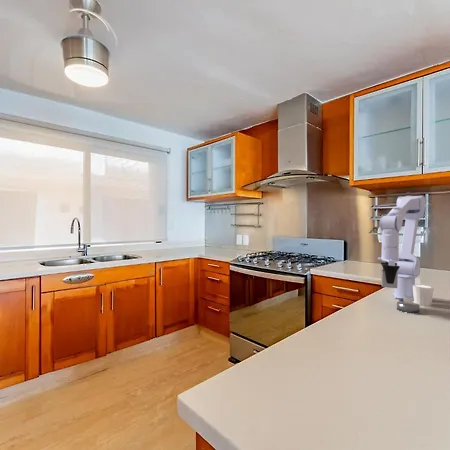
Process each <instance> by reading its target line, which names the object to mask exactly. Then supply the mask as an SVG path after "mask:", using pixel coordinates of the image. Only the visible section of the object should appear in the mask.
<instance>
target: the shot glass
mask: <svg viewBox="0 0 450 450" xmlns="http://www.w3.org/2000/svg"><path fill="white" fill-rule="evenodd" d="M433 294H434V287H433V286H432V285H431V286H430V285H427V284H415V285H413V295H414V300H413V303H416V304H419V305H420V306H422V305H423V306H424V307H430V306H432V302H433V297H434V295H433Z"/></svg>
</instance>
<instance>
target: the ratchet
mask: <svg viewBox="0 0 450 450" xmlns="http://www.w3.org/2000/svg"><path fill="white" fill-rule="evenodd" d="M420 306H421V305H419V304H416V303H414V300H413V298H412V297H410V296H404V299H403V298H399V299H398V301H397V302H396V310H397V311H398V310H399V311H398V312H400V311H402V312H401V313H404V312H407V313H406V314H410V313H418V314H420V313H419V312H420V308H421V307H420Z"/></svg>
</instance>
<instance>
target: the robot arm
mask: <svg viewBox="0 0 450 450" xmlns="http://www.w3.org/2000/svg"><path fill="white" fill-rule="evenodd" d="M426 204H427V203H426V197H425V196H424V195H415V196H414V195H412V196H409V195H408V196H398V197H397V199H396V206H393V208H392V209H391V210H389V212H388V213H387V214H386V215H383V216H381V217H380V219H379V223H378V224H379V225H378V226H379V229H380V235H381V255H380V256H381V257H380V256H379V257H377V260H379V261H381V262H380V265H381V266H382V270H384V271H385V275H386V281H387V283H388V284H393V283H394V280H395V276H396V273H397V272H398V285H397V288H394V292H391V294H392V296H393V297H394V298H395V299H398V300H399V298H403V299H404V296H410V297H412V298H413V301H414V295H413V285H416V278H417V277H419V276H420V273H421V261H420V259H419V258H418V257H417V256H416V255H414V253H415V245H416V239H417V232H418V226H419V222H420V219H421V218H422V217H425V216H424V215H425V212H426ZM404 220H405V223H404V229H403V235H402V240H401V245H400V244H399V243H400V242H399V241H400V231H401V229H402V227H403V221H404ZM399 245H400V246H399ZM400 247H401V248H400ZM399 251H400V252H399ZM382 261H383V262H382Z"/></svg>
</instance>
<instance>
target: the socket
mask: <svg viewBox="0 0 450 450" xmlns="http://www.w3.org/2000/svg"><path fill="white" fill-rule="evenodd" d="M380 273H381V274H380V275H381V276H380V278H381V279H380V280H381V281H380V285H381V287H382V288H386V289H387V288H388V289H395V288H397V285H398V272H397V273H396V276H395V280H394V283H393V284H388V283H387V281H386V275H385V271H384V270H383V269H381V271H380Z"/></svg>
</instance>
